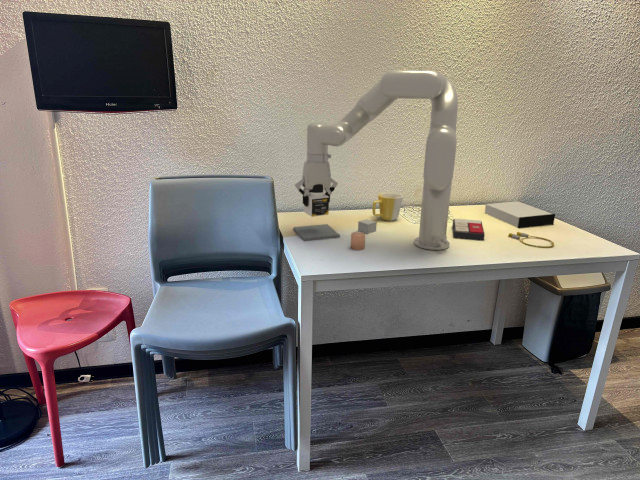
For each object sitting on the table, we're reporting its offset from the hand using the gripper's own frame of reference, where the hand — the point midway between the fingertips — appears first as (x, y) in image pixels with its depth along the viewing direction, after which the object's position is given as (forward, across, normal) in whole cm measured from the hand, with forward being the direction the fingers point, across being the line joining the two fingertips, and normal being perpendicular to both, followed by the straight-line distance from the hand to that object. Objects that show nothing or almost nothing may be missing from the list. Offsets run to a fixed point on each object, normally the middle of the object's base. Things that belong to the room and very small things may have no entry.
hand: (316, 204), depth 185 cm
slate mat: (+11, 0, 0) cm, 11 cm away
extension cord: (+12, -75, +32) cm, 82 cm away
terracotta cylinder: (+11, -9, +19) cm, 24 cm away
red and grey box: (+12, -57, +17) cm, 60 cm away
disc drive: (+12, -90, +6) cm, 90 cm away
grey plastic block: (+11, -20, +3) cm, 23 cm away
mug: (+11, -34, -9) cm, 37 cm away
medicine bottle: (+4, 0, 0) cm, 4 cm away
